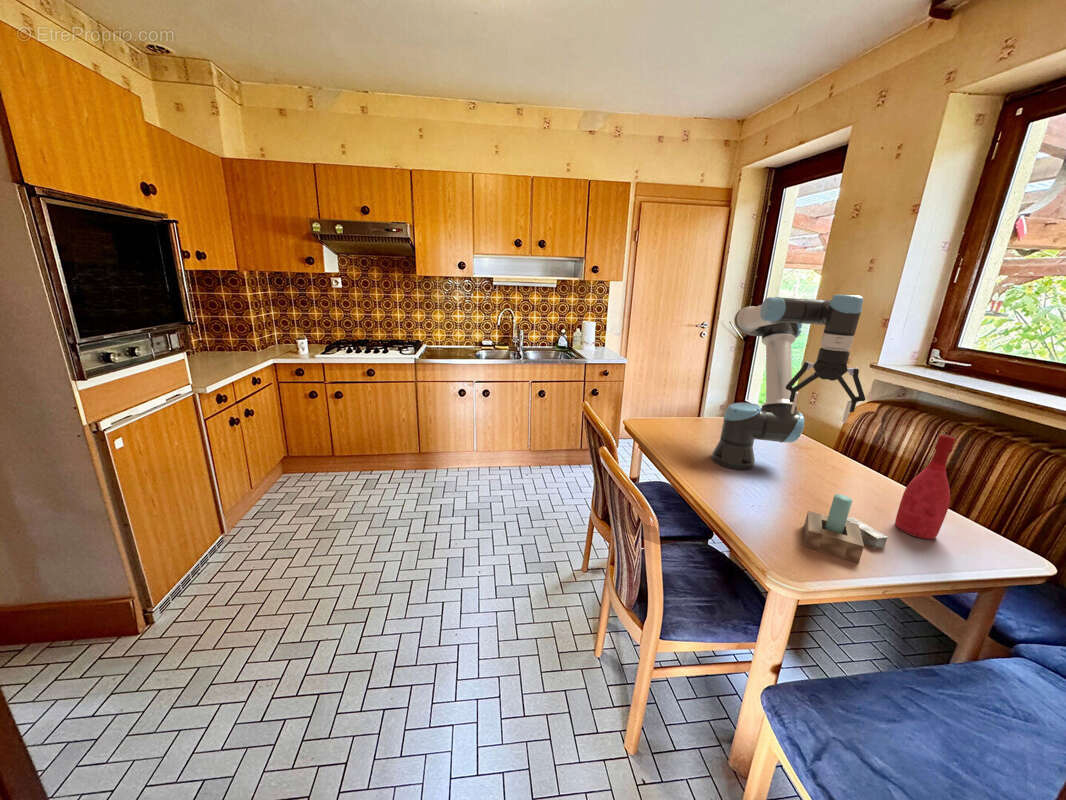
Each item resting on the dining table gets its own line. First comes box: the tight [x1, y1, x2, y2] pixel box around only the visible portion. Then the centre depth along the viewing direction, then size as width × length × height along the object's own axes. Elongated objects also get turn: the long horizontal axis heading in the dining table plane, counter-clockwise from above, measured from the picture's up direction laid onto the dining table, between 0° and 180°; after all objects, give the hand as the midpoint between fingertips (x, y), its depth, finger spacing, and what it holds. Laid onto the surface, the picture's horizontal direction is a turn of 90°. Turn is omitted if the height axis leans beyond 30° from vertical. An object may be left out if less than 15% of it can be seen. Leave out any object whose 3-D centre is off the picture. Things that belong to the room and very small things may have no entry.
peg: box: [825, 493, 853, 534], centre depth 115 cm, size 4×4×14 cm
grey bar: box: [846, 516, 888, 550], centre depth 120 cm, size 10×4×4 cm, turn 14°
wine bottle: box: [894, 434, 956, 540], centre depth 121 cm, size 10×10×30 cm
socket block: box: [803, 510, 865, 564], centre depth 116 cm, size 12×12×5 cm
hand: (817, 417), depth 131 cm, fingers open, 13 cm apart
